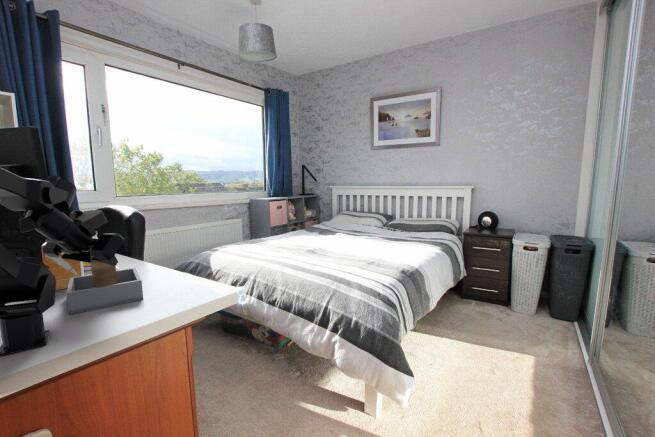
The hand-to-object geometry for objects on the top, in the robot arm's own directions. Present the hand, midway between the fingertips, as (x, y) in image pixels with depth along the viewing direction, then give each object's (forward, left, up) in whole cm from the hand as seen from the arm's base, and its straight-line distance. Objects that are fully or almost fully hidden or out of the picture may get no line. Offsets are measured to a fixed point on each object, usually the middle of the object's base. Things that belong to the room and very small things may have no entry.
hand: (108, 263), depth 81 cm
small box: (+18, +10, -9) cm, 23 cm away
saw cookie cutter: (+25, -1, -9) cm, 27 cm away
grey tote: (-1, +1, -9) cm, 9 cm away
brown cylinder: (-1, +1, -7) cm, 7 cm away
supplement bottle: (+37, +4, -9) cm, 38 cm away
